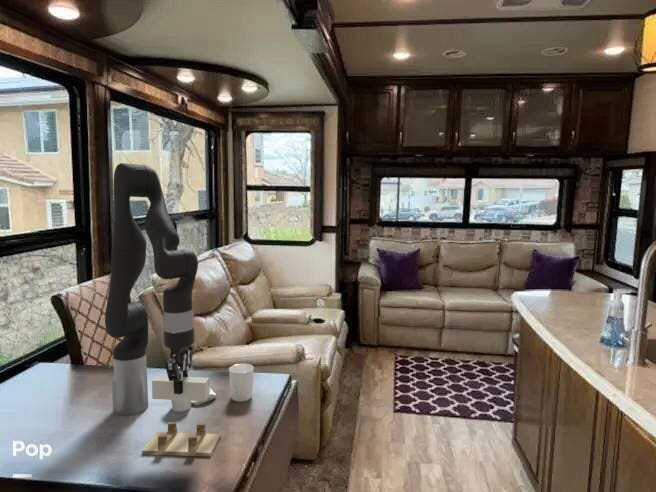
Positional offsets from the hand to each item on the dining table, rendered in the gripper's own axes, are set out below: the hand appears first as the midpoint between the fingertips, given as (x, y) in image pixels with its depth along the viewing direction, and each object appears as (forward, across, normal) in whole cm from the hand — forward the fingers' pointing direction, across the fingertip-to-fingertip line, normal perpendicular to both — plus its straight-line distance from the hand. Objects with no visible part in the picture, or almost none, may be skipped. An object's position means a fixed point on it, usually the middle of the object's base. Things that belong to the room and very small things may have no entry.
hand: (181, 390), depth 119 cm
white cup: (+16, -29, +9) cm, 34 cm away
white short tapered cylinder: (+16, -21, -8) cm, 27 cm away
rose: (+16, -27, -4) cm, 32 cm away
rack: (+16, 0, 0) cm, 16 cm away
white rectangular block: (+2, 0, 0) cm, 2 cm away
